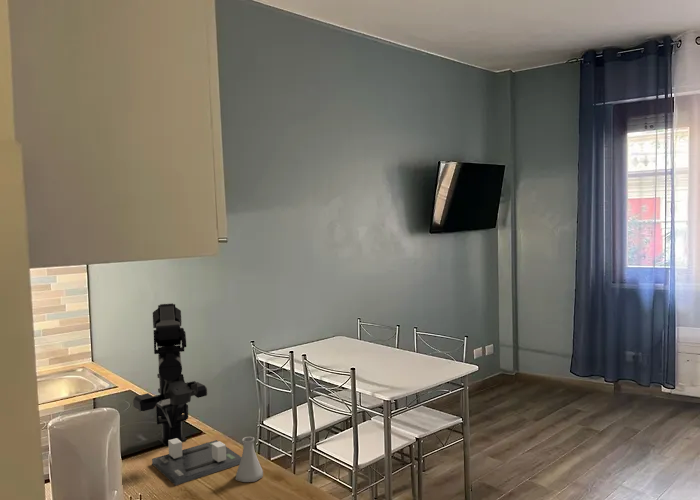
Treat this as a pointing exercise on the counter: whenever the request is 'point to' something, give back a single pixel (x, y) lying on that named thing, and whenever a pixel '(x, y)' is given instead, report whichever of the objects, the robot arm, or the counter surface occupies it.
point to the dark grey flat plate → (194, 463)
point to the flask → (249, 463)
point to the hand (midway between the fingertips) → (172, 426)
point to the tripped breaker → (175, 448)
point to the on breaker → (218, 451)
